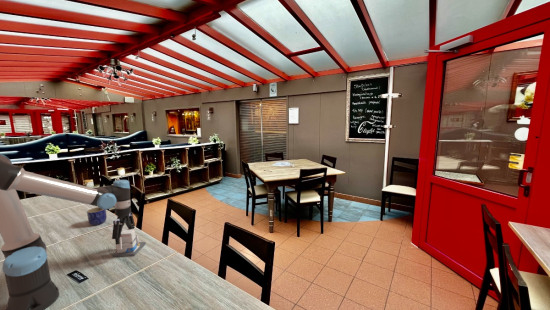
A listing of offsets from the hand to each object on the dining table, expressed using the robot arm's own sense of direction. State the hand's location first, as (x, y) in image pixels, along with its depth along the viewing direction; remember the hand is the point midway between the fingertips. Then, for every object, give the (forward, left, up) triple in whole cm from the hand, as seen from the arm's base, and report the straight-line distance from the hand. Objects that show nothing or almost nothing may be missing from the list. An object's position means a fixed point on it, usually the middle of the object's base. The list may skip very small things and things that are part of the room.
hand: (124, 244), depth 126 cm
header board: (+3, 0, -6) cm, 7 cm away
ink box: (0, -1, -4) cm, 4 cm away
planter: (+40, +45, -6) cm, 60 cm away
